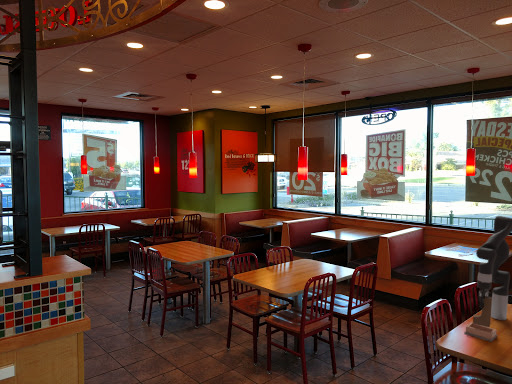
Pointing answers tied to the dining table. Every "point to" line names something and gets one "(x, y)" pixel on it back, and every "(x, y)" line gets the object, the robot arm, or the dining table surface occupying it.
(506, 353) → the dining table surface
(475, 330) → the block holder
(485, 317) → the wooden block
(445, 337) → the dining table surface
